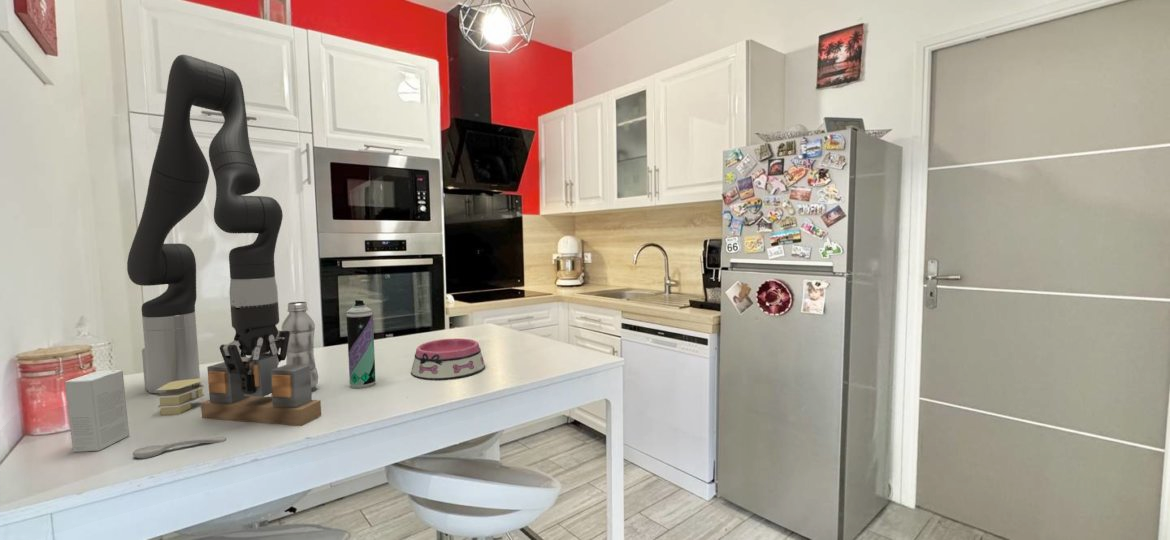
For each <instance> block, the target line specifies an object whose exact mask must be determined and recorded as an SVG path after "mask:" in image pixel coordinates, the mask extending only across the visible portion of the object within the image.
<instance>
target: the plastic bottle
mask: <svg viewBox="0 0 1170 540" xmlns="http://www.w3.org/2000/svg"><path fill="white" fill-rule="evenodd" d="M307 311H309V310H308V303H307V301H292V302H288V303H287V311H286V312H288V315H287V316H286V318H285V319H284V321H283V322H282V323H281V324H282V325H281V331H289V332H290V337H289V342H288V348H287V354H286V359H285V360H286V364H285V365H287V364H290V365H310V376H311V390H313V389H315V388H316V386H317V385H318V383H319V374H318V369H317V366H316V359H315V354H314V353H315V352H314V351H315V350H314V342H315V341H314V340H315V331H316V330H315V329H316V324H315V322H314V320H313V318H312V317H311V316H310V315H309V314H308V313H307Z"/></svg>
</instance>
